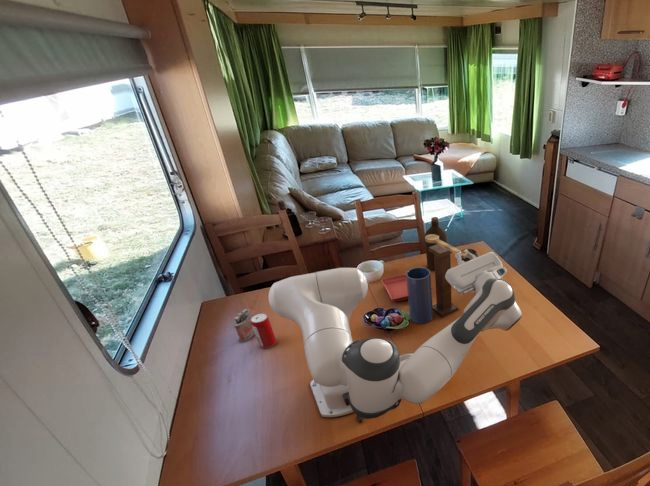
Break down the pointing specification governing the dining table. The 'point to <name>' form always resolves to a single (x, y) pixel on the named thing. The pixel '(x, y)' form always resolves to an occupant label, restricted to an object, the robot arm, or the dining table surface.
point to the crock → (419, 294)
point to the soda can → (263, 330)
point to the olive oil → (442, 236)
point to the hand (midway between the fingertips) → (460, 252)
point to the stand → (442, 281)
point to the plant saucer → (396, 287)
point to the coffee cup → (471, 253)
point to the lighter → (244, 325)
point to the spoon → (443, 244)
